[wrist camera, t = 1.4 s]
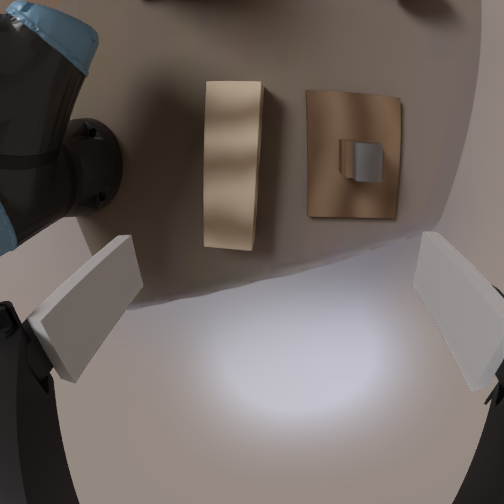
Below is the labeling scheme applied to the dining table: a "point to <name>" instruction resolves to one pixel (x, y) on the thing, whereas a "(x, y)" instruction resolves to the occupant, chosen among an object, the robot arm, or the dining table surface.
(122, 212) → the dining table surface
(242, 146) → the beech bar
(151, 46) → the dining table surface
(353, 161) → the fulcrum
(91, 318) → the robot arm
